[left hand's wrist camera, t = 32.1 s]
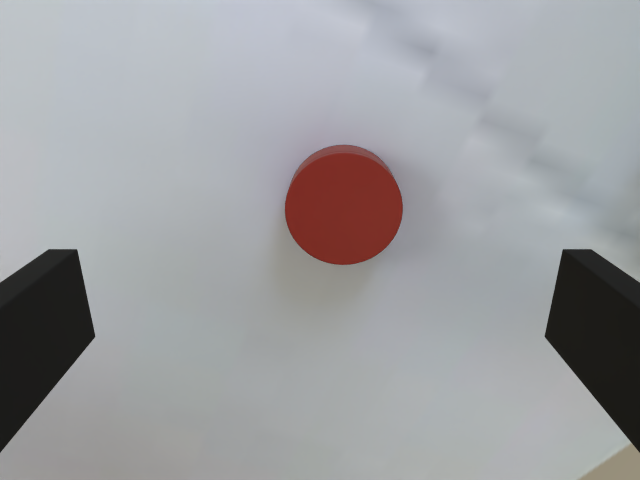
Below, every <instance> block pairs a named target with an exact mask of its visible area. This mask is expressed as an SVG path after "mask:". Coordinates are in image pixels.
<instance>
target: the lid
mask: <svg viewBox="0 0 640 480" xmlns="http://www.w3.org/2000/svg"><path fill="white" fill-rule="evenodd" d="M402 212H403V204H402V197H401V193H400V190H399V188H398V185H397V183H396V181H395V179H394V177H393V175H392V173H391V172H390V170H389V168H388V167H387V166H386V165H385V163H384V162H383V161H382V160H381V159H380V158H379V157H377V156H376V155H374V154H373V153H371V152H369V151H368V150H366V149H363V148H360V147H356V146H351V145H336V146H331V147H327V148H324V149H322V150H320V151H317V152H315V153H314V154H312V155H311V156H309V157H308V158H307V159H306V160H305V161H304V162H303V163H302V164H301V165H300V166H299V168H298V169H297V171H296V173H295V175H294V177H293V179H292V182H291V184H290V187H289V190H288V193H287V197H286V202H285V216H286V221H287V225H288V228H289V231H290V233H291V235H292V236H293V238H294V240H295V241H296V242H297V244H298V245H299V246H300V247H301V248H302V249H303V250H304V251H306V252H307V253H308V254H310V255H311V256H313V257H314V258H317V259H319V260H321V261H324V262H327V263H331V264H339V265H348V264H355V263H359V262H363V261H366V260H368V259H370V258H372V257H374V256H376V255H377V254H379V253H380V252H381V251H383V250H384V249H385V248H386V247H387V246H388V245H389V243H390V242H391V241H392V240H393V238H394V236H395V235H396V233H397V231H398V229H399V226H400V223H401V219H402Z"/></svg>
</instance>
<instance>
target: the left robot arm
mask: <svg viewBox="0 0 640 480" xmlns="http://www.w3.org/2000/svg"><path fill="white" fill-rule="evenodd" d="M94 338H95V333H94V328H93V323H92V318H91V314H90V309H89V304H88V299H87V294H86V290H85V285H84V280H83V275H82V270H81V266H80V261H79V256H78V251H77V249H49V250H47V251H46V252H44V253H43V254H41V255H40V256H38V257H37V258H36V259H34V260H33V261H31V262H30V263H28V264H27V265H25V266H24V267H22V268H21V269H20V270H18V271H17V272H15V273H14V274H12V275H11V276H9V277H8V278H6V279H5V280H4V281H2V282H1V283H0V452H1V451H2V450H3V449H4V447H5V446H6V445H7V444H8V442H9V441H10V440H11V439H12V438H13V436H14V435H15V434H16V433H17V432H18V430H19V429H20V428H21V427H22V425H23V424H24V423H25V422H26V421H27V419H28V418H29V417H30V416H31V414H32V413H33V412H34V411H35V410H36V408H37V407H38V406H39V405H40V404H41V402H42V401H43V400H44V399H45V397H46V396H47V395H48V394H49V393H50V391H51V390H52V389H53V388H54V386H55V385H56V384H57V383H58V382H59V380H60V379H61V378H62V377H63V375H64V374H65V373H66V372H67V371H68V369H69V368H70V367H71V366H72V365H73V363H74V362H75V361H76V360H77V358H78V357H79V356H80V355H81V354H82V352H83V351H84V350H85V349H86V347H87V346H88V345H89V344H90V343H91V341H92V340H93V339H94ZM545 338H546V339H547V340H548V341H549V343H550V344H551V345H552V346H553V347H554V349H555V350H556V351H557V352H558V354H559V355H560V356H561V357H562V358H563V360H564V361H565V362H566V363H567V365H568V366H569V367H570V368H571V369H572V371H573V372H574V373H575V374H576V375H577V377H578V378H579V379H580V380H581V382H582V383H583V384H584V385H585V386H586V388H587V389H588V390H589V391H590V393H591V394H592V395H593V396H594V397H595V399H596V400H597V401H598V402H599V404H600V405H601V406H602V407H603V408H604V410H605V411H606V412H607V413H608V414H609V416H610V417H611V418H612V419H613V421H614V422H615V423H616V424H617V425H618V427H619V428H620V429H621V430H622V432H623V433H624V434H625V435H626V436H627V438H628V439H629V440H630V441H631V442H632V444H633V445H634V446H635V447H636V449H637V450H638V451H639V452H640V283H639V282H638V281H636V280H635V279H634V278H632V277H631V276H629V275H628V274H626V273H625V272H623V271H622V270H620V269H619V268H618V267H616V266H615V265H613V264H612V263H610V262H609V261H607V260H606V259H604V258H603V257H602V256H600V255H599V254H597V253H596V252H594V251H593V250H591V249H563V251H562V256H561V261H560V266H559V270H558V275H557V280H556V285H555V290H554V294H553V299H552V304H551V309H550V314H549V318H548V323H547V328H546V333H545Z"/></svg>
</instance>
